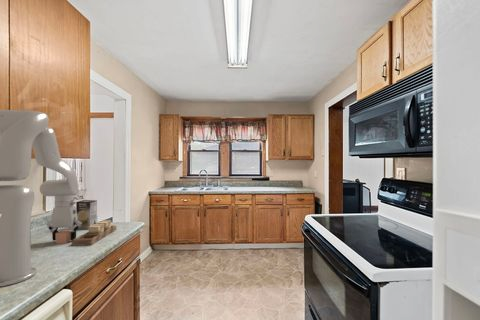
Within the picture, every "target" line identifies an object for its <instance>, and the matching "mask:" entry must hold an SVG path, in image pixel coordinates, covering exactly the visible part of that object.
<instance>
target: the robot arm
mask: <svg viewBox="0 0 480 320" xmlns="http://www.w3.org/2000/svg"><path fill="white" fill-rule="evenodd" d="M49 123H50V118H49V116H48V114H47V113H45V112H44V111H43V112H42V111H39V110H22V109H21V110H20V109H17V110H16V109H14V110H13V109H0V182H18V181H23V180H26V179H27V178H28V177H29V176H30V172H31V166H32V164H31V163H32V150H33V153H34V156H35V158H34V159H35V161H36V163H37V164H38V166H40V167H44V168H46V169H49V170H51V171H55V172H57V173H59V174H61V175H62V176H63V177H64V178H61V179H49V180H46V181H44V182H42V183H41V185H40V187H39V192H40V194H41V195H43V197H54V207H53V209H52V213H51V220H50V221H48V222H47V223H45V224H46V227H47V228H48V229H49V230H50V233H51V235H52V237H51V238H52V241H53V242H55V241H56V234H55V233H57V232H60V231H59V229H60V228H61V229H63V228H64V229H65V228H67V229H68V228H69V230H71V231H72V232H71V233H70V240H73V239H75V238H77V231H78V230H80V229H79V228H80V226H81V225H82V222H80V221H79V220H77V211H76V202H77V201H74V196H75V195H76V194H77V193H78V192H79V181H78V177H77V173H76V171H75V170H74V169H73V167H72V166H71V165H70V164H69V163H68V162H66V161H65V160H63V158H62V157H61V153H60V149H59V144H58V141H57V136H56V133H55V131H54V129H53V128H52V127H49ZM34 201H35V192H34V191H33V189H32V188H31V187H28V186H26V185H20V184H1V185H0V287H5V286H9V285H10V286H11V285H14V284H17V283H20V282H24V281H26V280H28V279H30V278H32V277H33V276H35V275H36V274H37V270H38V269H37V267H35V266H31V265H32V262H31V259H32V258H31V257H32V256H31V254H32V253H31V251H32V249H31V247H32V246H31V245H32V241H31V240H32V239H31V238H32V236H31V233H32V232H31V230H32V228H31V227H32V226H31V224H32V223H31V222H32V219H31V218H32V210H33V205H34ZM76 225H77V226H76Z"/></svg>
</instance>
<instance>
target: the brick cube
mask: <svg viewBox="0 0 480 320" xmlns="http://www.w3.org/2000/svg"><path fill="white" fill-rule="evenodd" d="M71 232H72V231H71V230H70V229H65V230H64V229H63V230H60V231H59V232H57V233H55V234H56V240H55V244H67V243H69V242H72V240H70V233H71Z"/></svg>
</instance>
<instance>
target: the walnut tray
mask: <svg viewBox="0 0 480 320" xmlns="http://www.w3.org/2000/svg"><path fill="white" fill-rule="evenodd" d="M116 230H117V225H112V220H111V219H110V220H100V221H97V224H94V225H92V226H89V229H88V231H87V232H85V233H83V234H82V235H79V236H78V237H77V236H76V238H75V239H73V240H72V241H71V246H92V245H94V244H96V243H98V242H99V241H100V240H101V241H102V239H104V238H106V237H107V236H109V235H111V234H113V233H114V232H115V231H116Z"/></svg>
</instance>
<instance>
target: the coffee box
mask: <svg viewBox="0 0 480 320" xmlns="http://www.w3.org/2000/svg"><path fill="white" fill-rule="evenodd" d="M75 202H76V204H75V207H76V211H77V220H79V221H80V222H82V225H81V226H80V228H79V229H78V230H89V226H92V225H94V224H97V223H98V200H96V199H95V200H94V199H92V200H91V199H87V200H86V199H82V200H78V201H75ZM75 226H77V225H75Z"/></svg>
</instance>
